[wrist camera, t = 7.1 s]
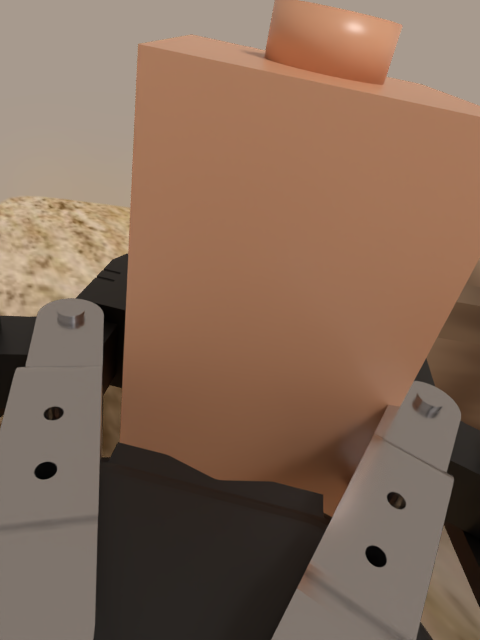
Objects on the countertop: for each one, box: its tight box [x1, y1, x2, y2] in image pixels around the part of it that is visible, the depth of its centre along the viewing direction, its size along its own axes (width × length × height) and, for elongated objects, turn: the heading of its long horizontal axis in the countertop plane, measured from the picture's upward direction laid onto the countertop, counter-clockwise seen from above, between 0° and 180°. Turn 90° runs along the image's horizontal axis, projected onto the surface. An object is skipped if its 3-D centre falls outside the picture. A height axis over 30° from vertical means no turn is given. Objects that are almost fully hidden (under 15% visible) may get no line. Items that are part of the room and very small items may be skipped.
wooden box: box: [426, 258, 480, 430], centre depth 22 cm, size 11×11×8 cm
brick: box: [120, 0, 480, 517], centre depth 11 cm, size 5×5×14 cm
